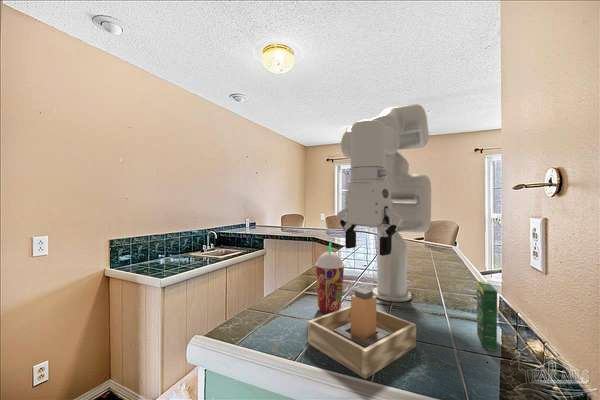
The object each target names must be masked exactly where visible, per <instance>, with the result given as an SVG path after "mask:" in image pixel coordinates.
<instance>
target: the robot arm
mask: <svg viewBox="0 0 600 400" xmlns="http://www.w3.org/2000/svg"><path fill="white" fill-rule="evenodd" d="M429 133H430V132H429V126H428V118H427V113H426V110H425V109H424V107H423V106H422V105H420V104H417V103H415V104H406V105H401V106H394V107H388V108H385V109H383V110H382V112H381V113H380V114H378V116H376V117H371V118H370V119H363V120H359V121H355V122H354V123H353V124H352V126H349V128H347V130H345V132H344V133H343V135H342V137H341V141H340V148H341V149H340V150H341V152H342V154H343V156H344V157H345V158H346V159H348V160H350V182H349V183H348V187H347V192H346V193H347V194H346V199H345V200H346V201H345V202H346V203H345V208H343V209H342V210H340V211H339V212H338V213H337V217H338V220H339V223H340V225H341V227H342V230H343V232H344V233H345V235H344V236H345V239H344V240H345V244H344V245H345V249H354V248H356V246H357V231H356V228H357V226H359V227H360V226H361V227H367V228H368V227H369V228H376V234H377V259H376V260H377V261H376V263H377V266H376V267H377V269H376V270H377V272H376V273H377V274H376V275H377V278H376V282H377V283H376V284H377V285H376V287H374V288H373V289H372V291H373V296H376V297H377V299H379V300H383V301H388V302H396V303H397V302H398V303H401V302H407V301H410V300H411V299H412V293H411V292H410V291H408V290H407V289H408V287H411V286H412V280H407V278H408V277H407V275H408V273H407V271H408V270H407V266H408V264H407V263H408V246H407V242H406V240H405V238H403V236H402V235H401V234H400V233H405V232H406V233H426V232H428V231H429V229H430V227H431V223H432V183H431V180H430V177H429V176H428V175H426V174H422V173H412V174H409V164H410V163H409V161H408V160H407V159H406V157H404V155H402V153H400V152H399V151H398V150H411V149H412V150H413V149H415V150H416V149H422V148H424V147H425V146H426V145H427V144H428V142H429V135H430V134H429ZM404 202H407V203H404ZM410 202H411V203H410ZM413 202H414V203H413Z"/></svg>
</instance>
